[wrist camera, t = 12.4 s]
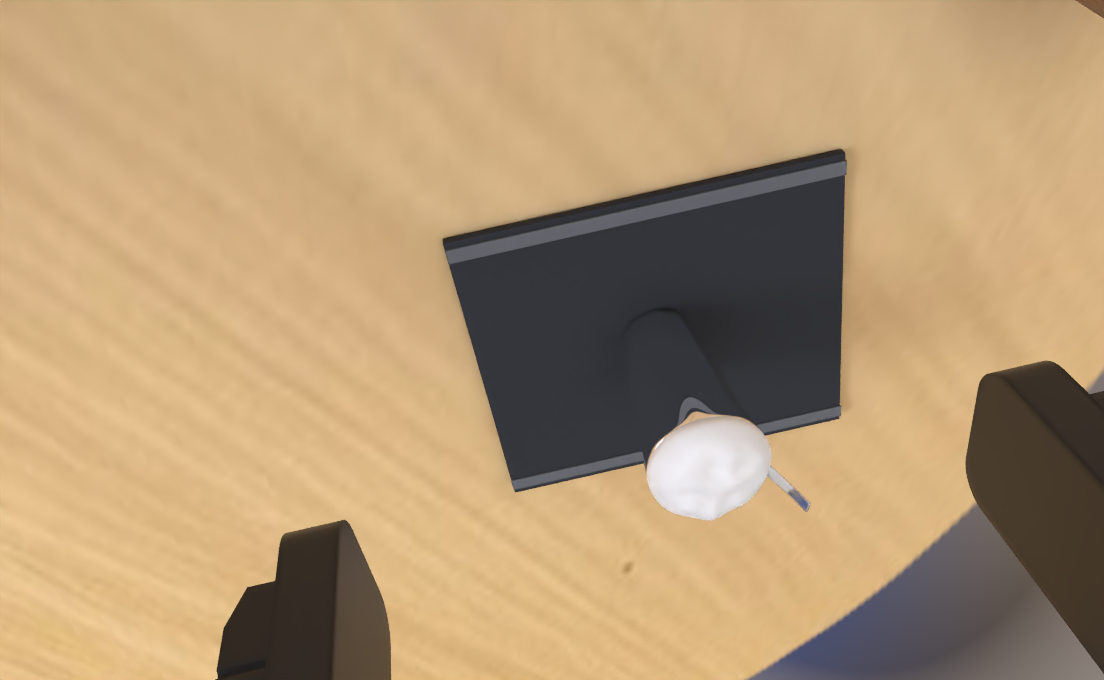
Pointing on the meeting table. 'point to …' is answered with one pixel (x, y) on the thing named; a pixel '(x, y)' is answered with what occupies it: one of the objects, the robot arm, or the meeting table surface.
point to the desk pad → (656, 284)
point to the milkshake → (693, 422)
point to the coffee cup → (1094, 6)
